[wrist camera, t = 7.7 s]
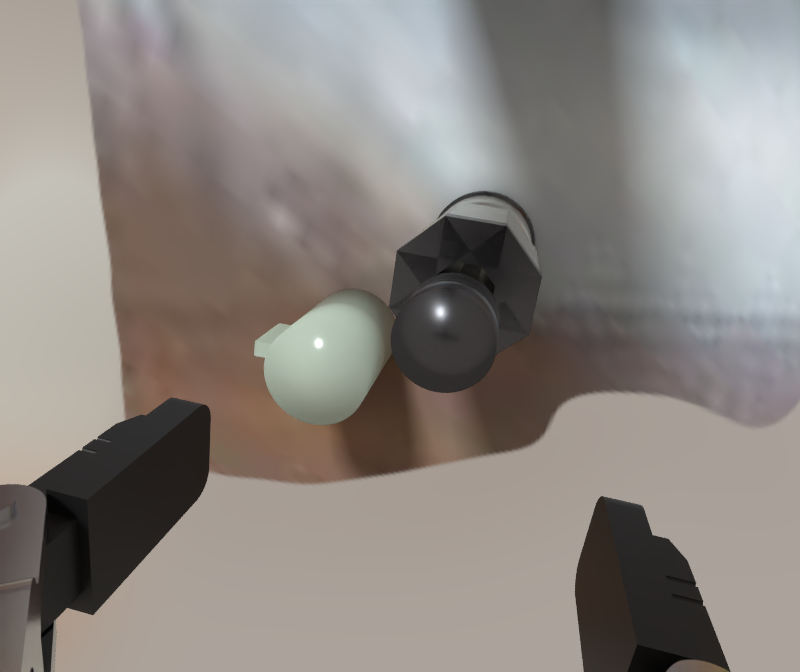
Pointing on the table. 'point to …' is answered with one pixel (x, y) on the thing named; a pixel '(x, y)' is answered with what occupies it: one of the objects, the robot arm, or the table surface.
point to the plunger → (447, 332)
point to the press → (477, 258)
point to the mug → (328, 356)
